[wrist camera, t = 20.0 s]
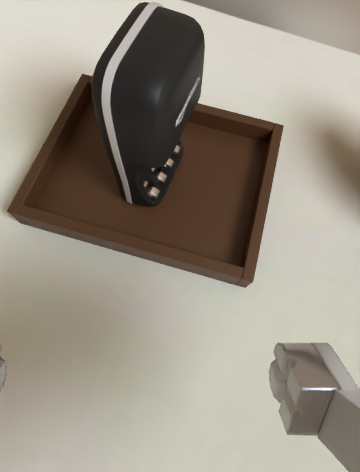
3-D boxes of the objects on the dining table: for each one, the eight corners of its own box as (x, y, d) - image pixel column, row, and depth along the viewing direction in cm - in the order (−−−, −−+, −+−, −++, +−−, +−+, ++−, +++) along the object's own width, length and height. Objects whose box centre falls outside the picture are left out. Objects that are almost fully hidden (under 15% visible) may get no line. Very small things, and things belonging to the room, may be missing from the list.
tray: (20, 223, 23) (6, 211, 21) (88, 92, 27) (82, 73, 25) (245, 287, 22) (253, 282, 20) (275, 141, 26) (283, 125, 24)
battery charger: (164, 220, 23) (163, 107, 12) (118, 202, 23) (78, 77, 12) (195, 150, 25) (219, 3, 14) (154, 135, 25) (147, -19, 15)
